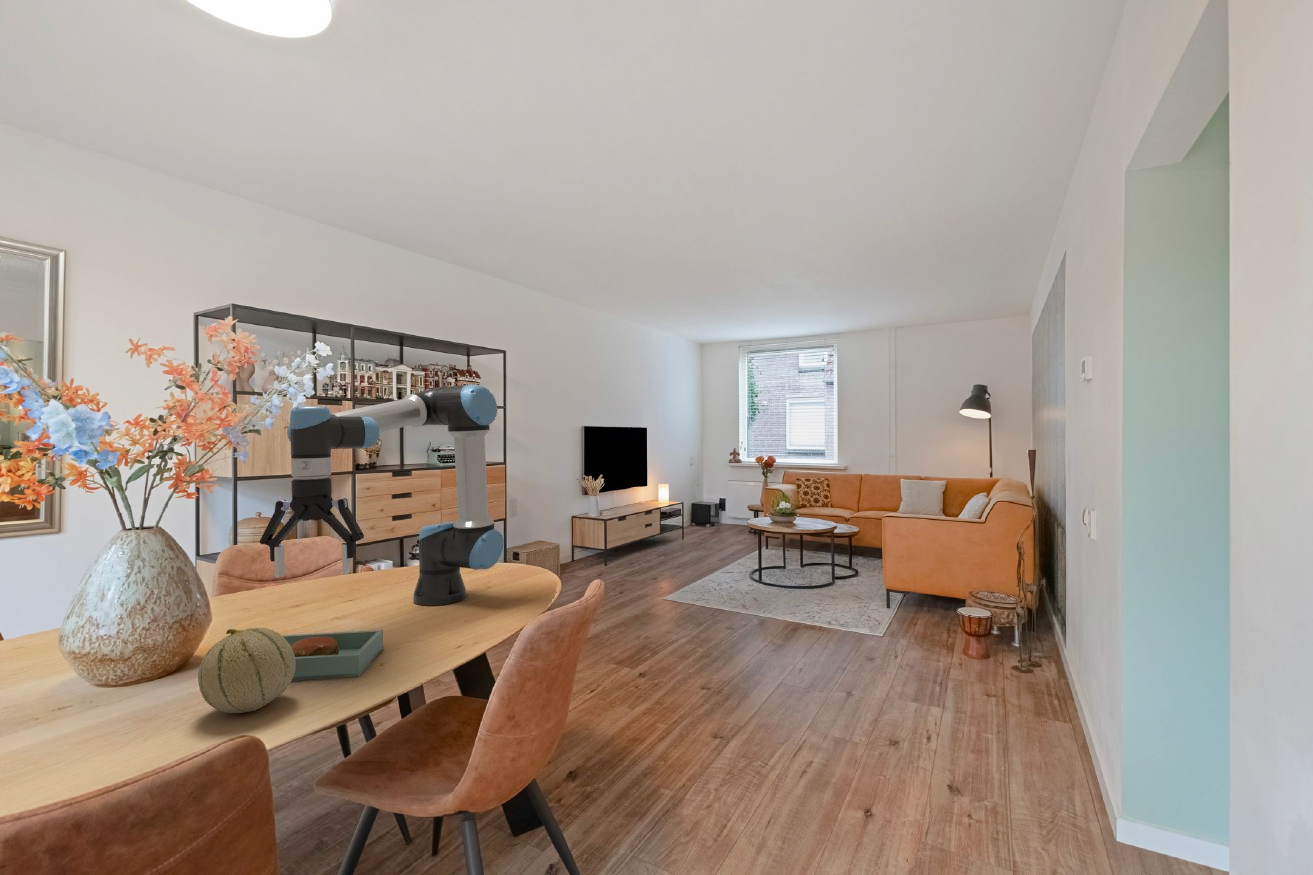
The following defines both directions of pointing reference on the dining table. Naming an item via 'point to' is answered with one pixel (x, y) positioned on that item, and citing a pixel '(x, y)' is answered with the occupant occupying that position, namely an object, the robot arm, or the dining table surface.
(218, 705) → the cantaloupe
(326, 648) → the burger
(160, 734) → the dining table surface
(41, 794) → the dining table surface
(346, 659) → the teal tray
